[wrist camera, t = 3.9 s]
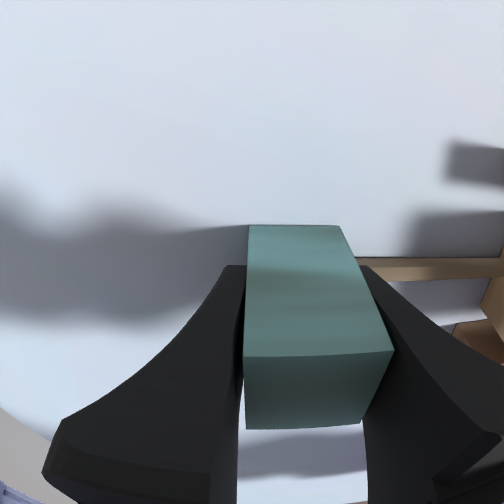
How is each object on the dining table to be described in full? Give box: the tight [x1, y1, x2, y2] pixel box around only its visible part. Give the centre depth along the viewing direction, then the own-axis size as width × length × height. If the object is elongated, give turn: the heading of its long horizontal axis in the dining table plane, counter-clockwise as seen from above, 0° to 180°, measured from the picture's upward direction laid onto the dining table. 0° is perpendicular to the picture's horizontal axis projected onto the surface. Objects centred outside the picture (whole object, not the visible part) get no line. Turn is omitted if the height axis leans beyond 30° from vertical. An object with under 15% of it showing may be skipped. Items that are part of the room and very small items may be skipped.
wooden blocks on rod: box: [243, 225, 504, 429], centre depth 9 cm, size 5×16×6 cm, turn 90°
